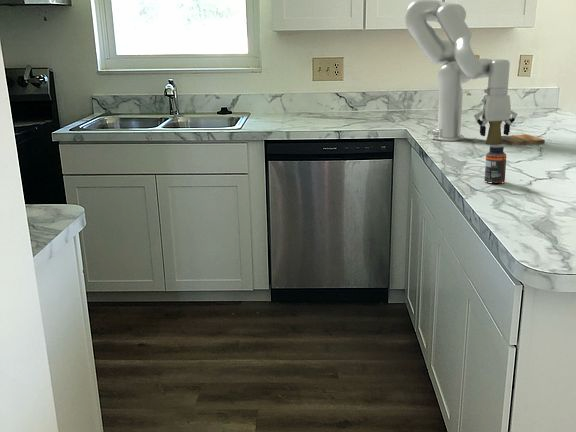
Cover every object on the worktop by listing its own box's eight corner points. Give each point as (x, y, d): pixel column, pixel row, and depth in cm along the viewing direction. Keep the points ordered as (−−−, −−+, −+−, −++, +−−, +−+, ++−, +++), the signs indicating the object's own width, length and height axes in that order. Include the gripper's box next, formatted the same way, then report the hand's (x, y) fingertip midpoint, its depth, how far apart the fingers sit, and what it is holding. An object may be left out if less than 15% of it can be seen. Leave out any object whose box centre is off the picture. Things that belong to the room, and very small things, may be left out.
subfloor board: (510, 145, 247) (510, 141, 246) (496, 139, 259) (496, 135, 259) (544, 143, 248) (544, 139, 248) (528, 138, 260) (529, 134, 260)
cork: (491, 145, 248) (493, 117, 245) (482, 142, 254) (484, 115, 250) (504, 144, 249) (506, 116, 246) (496, 141, 255) (498, 114, 252)
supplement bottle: (500, 179, 194) (503, 143, 191) (507, 184, 189) (510, 147, 185) (481, 180, 194) (483, 144, 191) (487, 185, 188) (490, 147, 185)
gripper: (480, 93, 241) (477, 137, 246) (523, 92, 243) (519, 135, 248) (472, 91, 248) (469, 134, 253) (514, 90, 250) (510, 132, 255)
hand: (494, 135), depth 250 cm, fingers open, 9 cm apart
